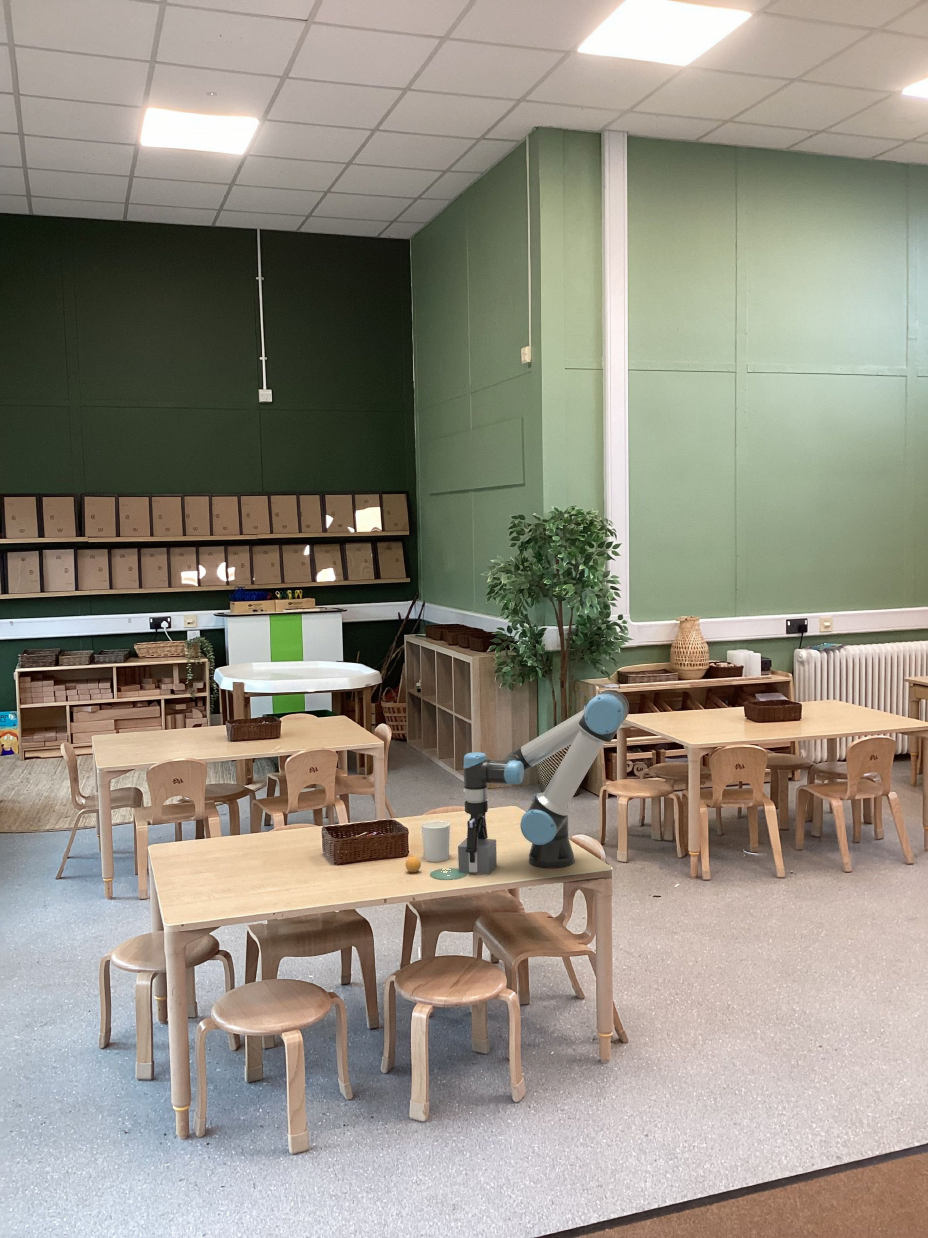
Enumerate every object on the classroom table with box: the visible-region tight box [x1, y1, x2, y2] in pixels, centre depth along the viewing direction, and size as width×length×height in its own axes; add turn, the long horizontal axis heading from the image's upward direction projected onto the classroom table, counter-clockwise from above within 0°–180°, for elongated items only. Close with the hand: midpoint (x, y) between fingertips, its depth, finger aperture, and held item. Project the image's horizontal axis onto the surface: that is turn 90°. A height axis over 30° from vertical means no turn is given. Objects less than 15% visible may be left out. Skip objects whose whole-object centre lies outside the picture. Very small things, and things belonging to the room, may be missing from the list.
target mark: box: [429, 867, 468, 881], centre depth 350 cm, size 12×12×1 cm
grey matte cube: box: [457, 837, 498, 876], centre depth 354 cm, size 10×10×9 cm
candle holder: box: [421, 820, 451, 863], centre depth 367 cm, size 10×10×12 cm
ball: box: [405, 856, 422, 873], centre depth 353 cm, size 5×5×5 cm
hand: (477, 867), depth 354 cm, fingers closed on grey matte cube, 10 cm apart
